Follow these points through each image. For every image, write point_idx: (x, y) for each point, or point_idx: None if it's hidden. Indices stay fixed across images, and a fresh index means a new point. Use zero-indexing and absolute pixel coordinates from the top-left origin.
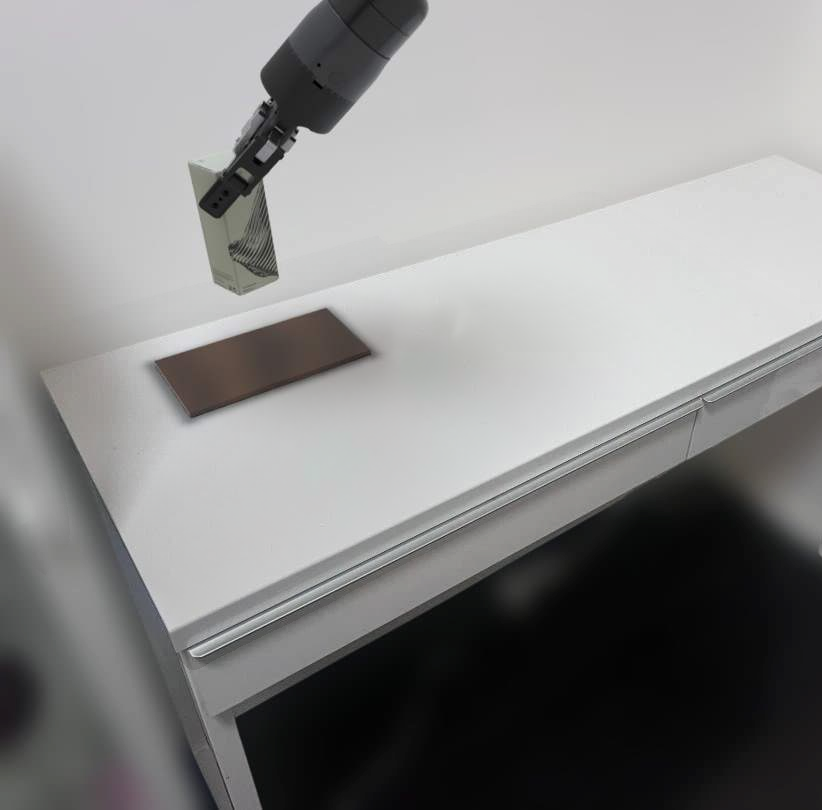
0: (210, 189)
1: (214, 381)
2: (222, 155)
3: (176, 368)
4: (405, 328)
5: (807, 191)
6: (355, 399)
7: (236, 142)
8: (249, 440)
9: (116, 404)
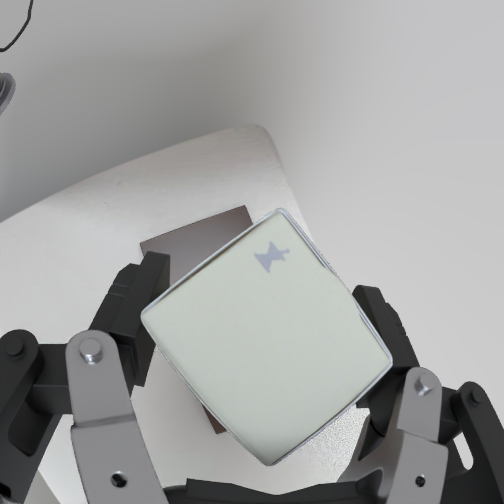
0: (131, 287)
1: (189, 266)
2: (316, 339)
3: (224, 227)
4: (262, 466)
5: None
6: (135, 405)
7: (420, 375)
8: (93, 298)
9: (184, 177)
